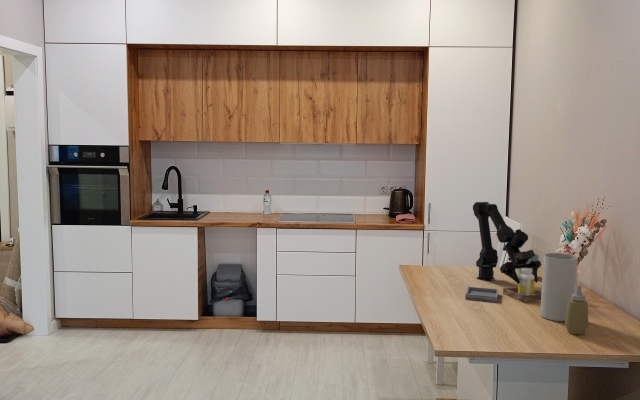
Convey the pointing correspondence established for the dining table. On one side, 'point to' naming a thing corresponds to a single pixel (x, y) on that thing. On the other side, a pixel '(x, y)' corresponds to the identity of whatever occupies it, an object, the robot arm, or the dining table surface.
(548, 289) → the cylinder vase
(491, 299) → the slate tray
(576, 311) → the squeeze bottle
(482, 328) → the dining table surface
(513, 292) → the tray
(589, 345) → the dining table surface
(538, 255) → the teal tapered cup
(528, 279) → the supplement bottle
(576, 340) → the dining table surface
